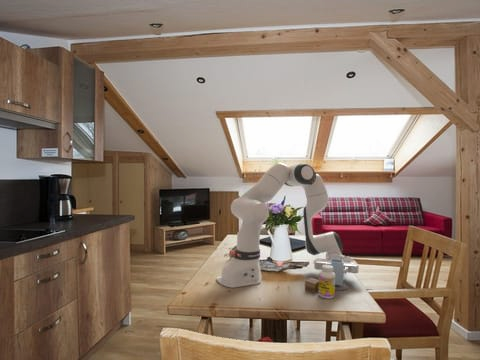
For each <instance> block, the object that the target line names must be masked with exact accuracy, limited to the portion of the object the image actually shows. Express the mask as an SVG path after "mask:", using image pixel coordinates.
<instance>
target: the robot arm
mask: <svg viewBox="0 0 480 360" xmlns="http://www.w3.org/2000/svg"><path fill="white" fill-rule="evenodd" d="M284 185H286V186H287V187H302V188H303V190H304V194H305V197H306V205H305V206H304V208H303V213H302V214H303V225H304V226H303V227H304V235H305V236H304V237H305V241H304V245H305V250H306V252H307V253H308V254H310V255H312V256H317V255H320V254H324V253H325V258H316V259H314V260H313V265H314V266H313V268H314V270H320V271H322V265H330V259H340V260H343V263H344V269H343V275H344V274H346V275H347V274H348V273H350V274H359V264H358V262H357V261H355V260H354V259H355V258H354V257H352V256H349V255H348V256H346V255H345V254H344V255H343V253H342V252H343V249H344V247H343V242H342V239H341V237H340V235H339V234H338V233H336V231H328V232H324V233H321V234H313V225H312V224H313V223H312V222H313V221H312V220H313V218H314V217H315V216H316V215H317V214H319V213H321V212H322V211H323V210H324V209H326V207H327V206H328V205H329V202H330V201H329V196H328V191H327V188H326V185H325V183H324V180H323V179H322V177H321V175H320V174H318V173H316V172H315V170H314V168H313V167H312V165H311V164H309V163H304V162H303V163H299V164H294V165H290V166H289V167H288V165H286V164H285V163H283V162H276V163H275V164H273V165H272V166H271V167H270V168H269V169H267V170H266V172H265V173H264V174H263V175H262V176H261V177H260V179H259V180H258V181H257V182H256V183H255V184H254V185H253V186H252V187H251V188H250V189H249V190H247V191H246V192H245V193H243V194H242V195H241V196H239V197H237V198H235V199H234V200H232V201H231V204H230V211H231V214H232V215H234V217H236V218H237V219H239V220H242V221H241V225H240V228H239V230H238V231H237V233H236V249H235V250H231V249H230V250H229V254H230V255H231V256H233V257H232V258H231V259H230V260H229V261H228V262H226V264H225V265H223V267H222V270H221V275H219V276H217V277H216V282H218V283H219V284H220V285H222V286H224V287H226V288H239V287H240V288H241V287H247V286H254V285H259V284H261V282H262V281H261V280H262V279H263V276H262V271H261V263H260V262H261V261H260V258H261V249H260V235H261V231H262V227H263V225H264V223H265V222H266V221H267V220H268V218H269V215H270V214H269V213H270V211H269V210H270V209H269V207H268V205H267V204H266V203H268V202H270V201H271V200H273V198H275V196H276V195H277V194H278V193H279V191H280V190H281V189H282V188H283V186H284Z"/></svg>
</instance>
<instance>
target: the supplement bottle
mask: <svg viewBox="0 0 480 360" xmlns="http://www.w3.org/2000/svg"><path fill="white" fill-rule="evenodd" d="M318 280H319V291H318V295H319V297H321V298H323V299H327V300H328V299H333V298H335V294H336V293H335V292H336V290H335V273H334V272H333V266H331V265H322V270H320V271H319V273H318Z"/></svg>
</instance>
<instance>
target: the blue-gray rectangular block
mask: <svg viewBox="0 0 480 360" xmlns="http://www.w3.org/2000/svg"><path fill="white" fill-rule="evenodd" d="M330 265H331V266H333V272H334V273H335V284H336V285H343V283H344V273H343V269H344V263H343V260H340V259H330Z"/></svg>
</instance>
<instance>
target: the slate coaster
mask: <svg viewBox="0 0 480 360" xmlns="http://www.w3.org/2000/svg"><path fill="white" fill-rule="evenodd" d="M348 288H349V287H348V284H346V283H344V282H343V285H336V284H335V292H336V291H340V292H343V291H346V290H348Z"/></svg>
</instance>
